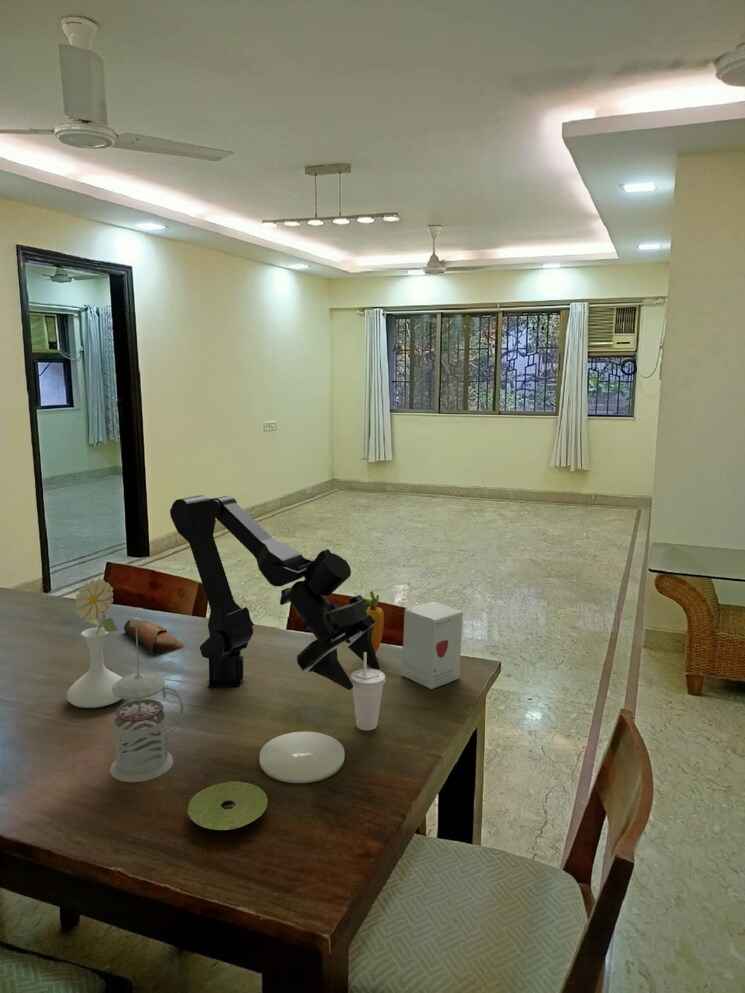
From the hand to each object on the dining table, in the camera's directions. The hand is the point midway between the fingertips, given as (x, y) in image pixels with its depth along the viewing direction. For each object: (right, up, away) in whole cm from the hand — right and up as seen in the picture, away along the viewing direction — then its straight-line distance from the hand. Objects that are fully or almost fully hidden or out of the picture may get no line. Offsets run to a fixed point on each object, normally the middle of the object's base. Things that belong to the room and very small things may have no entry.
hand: (365, 678), depth 124 cm
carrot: (+1, -4, +32) cm, 32 cm away
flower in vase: (-51, -7, +9) cm, 52 cm away
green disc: (-19, -13, -25) cm, 34 cm away
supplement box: (+14, -6, +22) cm, 26 cm away
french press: (-35, -11, -12) cm, 39 cm away
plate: (-10, -11, -10) cm, 18 cm away
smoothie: (0, -9, +1) cm, 9 cm away
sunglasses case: (-50, -2, +39) cm, 64 cm away
